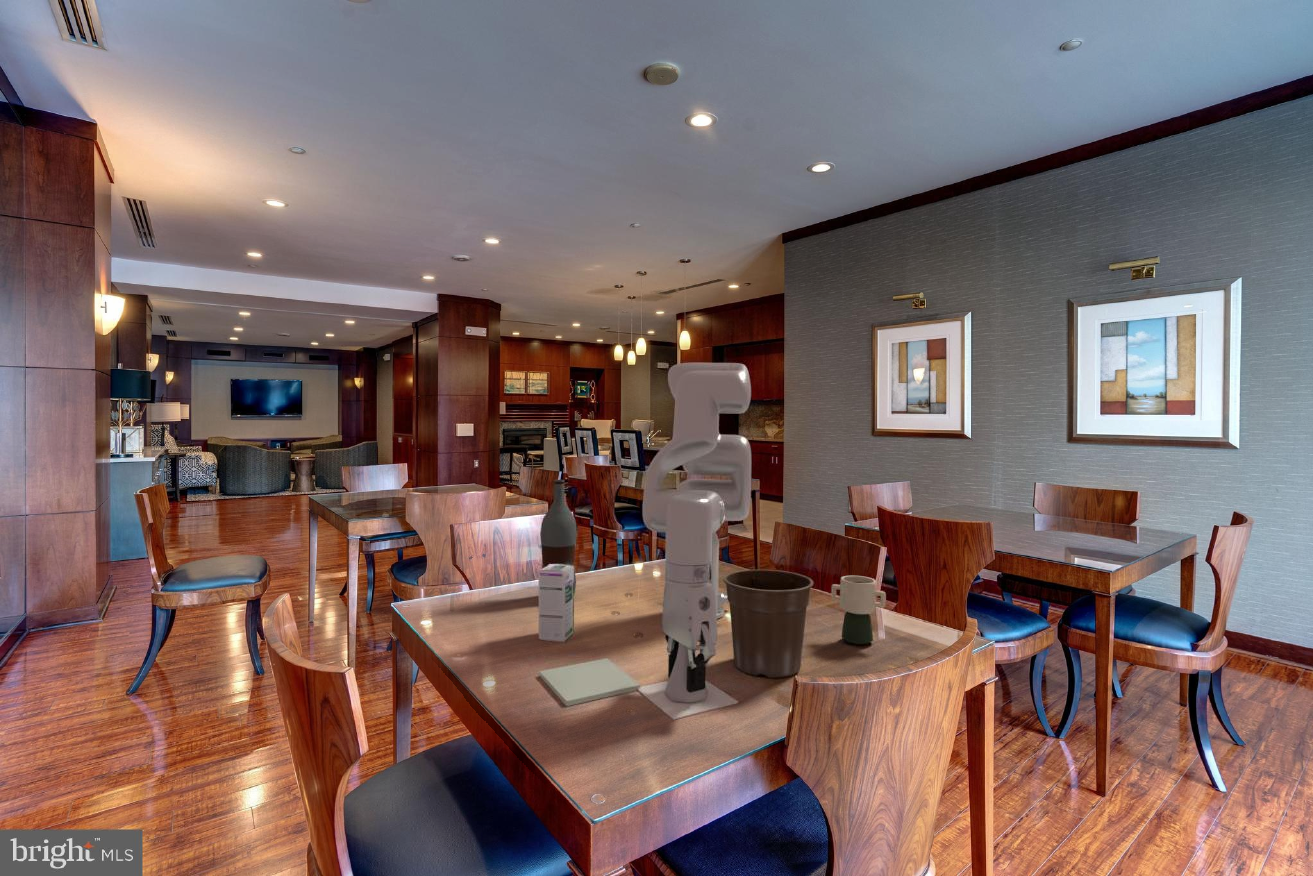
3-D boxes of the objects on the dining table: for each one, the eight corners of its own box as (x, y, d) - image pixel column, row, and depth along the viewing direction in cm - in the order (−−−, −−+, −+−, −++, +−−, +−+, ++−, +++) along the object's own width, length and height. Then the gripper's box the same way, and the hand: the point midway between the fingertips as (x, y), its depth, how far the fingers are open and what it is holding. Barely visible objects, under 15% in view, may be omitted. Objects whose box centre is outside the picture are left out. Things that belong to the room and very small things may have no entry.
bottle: (577, 603, 149) (579, 481, 148) (539, 604, 147) (541, 481, 147) (574, 592, 158) (576, 478, 158) (538, 594, 156) (540, 478, 156)
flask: (661, 685, 101) (662, 626, 101) (704, 684, 102) (705, 625, 102) (666, 705, 94) (667, 641, 94) (712, 704, 95) (713, 640, 95)
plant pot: (703, 660, 113) (705, 575, 113) (764, 643, 123) (765, 564, 123) (768, 692, 100) (770, 595, 100) (829, 670, 110) (831, 582, 110)
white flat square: (696, 675, 106) (696, 674, 106) (738, 703, 96) (738, 701, 96) (636, 689, 100) (636, 687, 100) (673, 720, 90) (673, 718, 90)
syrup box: (564, 642, 122) (565, 570, 121) (537, 640, 123) (538, 568, 123) (574, 633, 127) (575, 564, 127) (547, 630, 128) (548, 562, 128)
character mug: (888, 642, 125) (889, 579, 125) (881, 652, 119) (882, 587, 119) (835, 632, 131) (836, 572, 130) (825, 641, 125) (827, 579, 124)
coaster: (607, 662, 112) (607, 658, 112) (640, 689, 100) (640, 684, 100) (539, 675, 105) (539, 671, 105) (566, 706, 94) (566, 701, 94)
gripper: (739, 581, 92) (736, 699, 93) (680, 559, 107) (678, 661, 107) (698, 587, 89) (695, 710, 89) (643, 563, 103) (641, 669, 104)
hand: (686, 682), depth 98 cm, fingers closed on flask, 4 cm apart
